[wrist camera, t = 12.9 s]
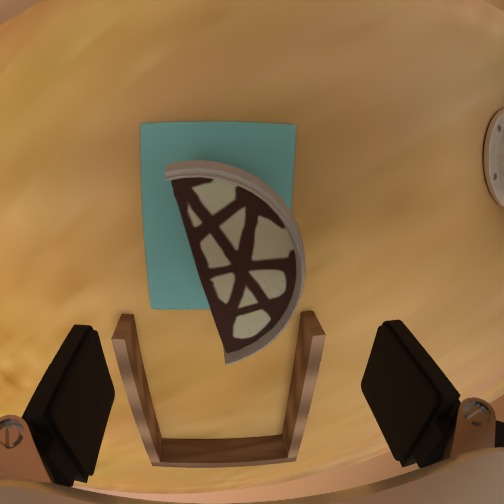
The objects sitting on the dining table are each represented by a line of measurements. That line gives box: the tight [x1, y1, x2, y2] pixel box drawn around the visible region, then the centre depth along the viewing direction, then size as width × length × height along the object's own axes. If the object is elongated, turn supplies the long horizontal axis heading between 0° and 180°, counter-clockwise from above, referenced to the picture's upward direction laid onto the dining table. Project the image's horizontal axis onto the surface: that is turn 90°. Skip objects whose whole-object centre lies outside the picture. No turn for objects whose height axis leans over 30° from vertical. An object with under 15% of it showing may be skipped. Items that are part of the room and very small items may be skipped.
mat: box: [141, 121, 296, 309], centre depth 26 cm, size 16×12×1 cm
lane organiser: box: [112, 311, 326, 468], centre depth 31 cm, size 21×18×4 cm
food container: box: [164, 160, 306, 365], centre depth 21 cm, size 12×6×10 cm, turn 13°
